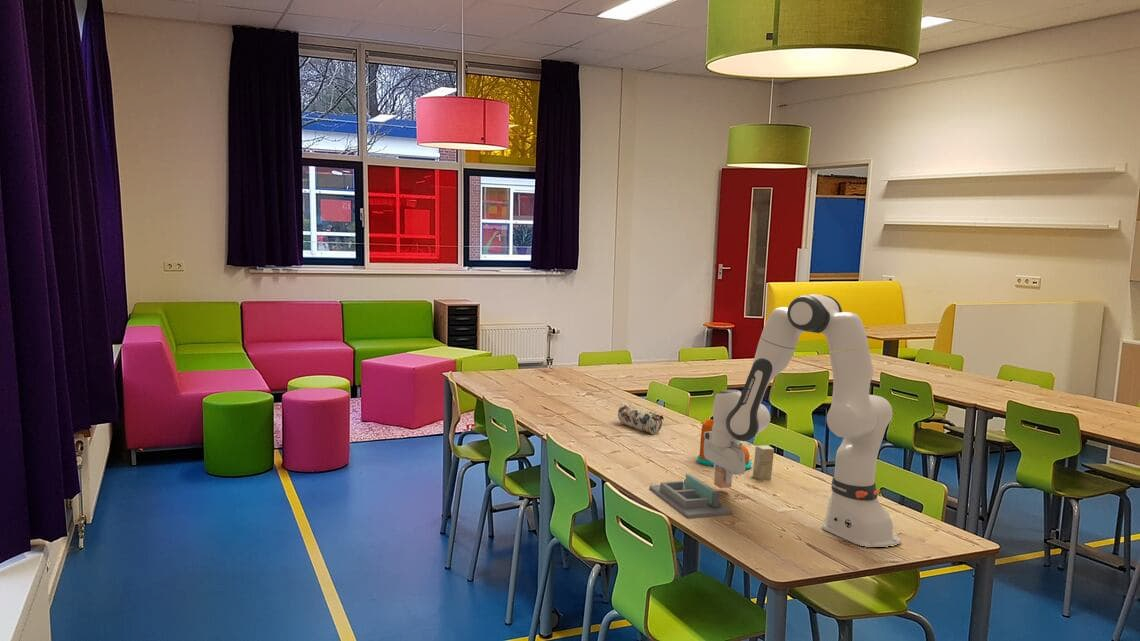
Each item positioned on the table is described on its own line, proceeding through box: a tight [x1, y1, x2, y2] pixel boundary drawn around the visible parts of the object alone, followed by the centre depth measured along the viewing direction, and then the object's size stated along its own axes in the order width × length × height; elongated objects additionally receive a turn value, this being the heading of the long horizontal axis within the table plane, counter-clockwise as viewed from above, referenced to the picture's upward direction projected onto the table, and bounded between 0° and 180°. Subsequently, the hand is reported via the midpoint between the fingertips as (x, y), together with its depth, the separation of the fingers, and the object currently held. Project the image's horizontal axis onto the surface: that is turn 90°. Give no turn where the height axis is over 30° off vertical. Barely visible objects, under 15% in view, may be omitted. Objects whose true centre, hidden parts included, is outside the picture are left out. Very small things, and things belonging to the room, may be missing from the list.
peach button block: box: [713, 468, 733, 489], centre depth 255 cm, size 4×4×6 cm
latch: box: [684, 473, 717, 505], centre depth 246 cm, size 17×1×4 cm, turn 20°
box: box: [752, 445, 775, 481], centre depth 271 cm, size 5×4×11 cm
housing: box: [649, 479, 733, 519], centre depth 245 cm, size 26×15×6 cm, turn 20°
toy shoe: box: [696, 418, 753, 470], centre depth 285 cm, size 12×20×15 cm, turn 71°
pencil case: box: [617, 402, 665, 435], centre depth 329 cm, size 22×8×10 cm, turn 37°
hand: (723, 479), depth 255 cm, fingers closed on peach button block, 4 cm apart
